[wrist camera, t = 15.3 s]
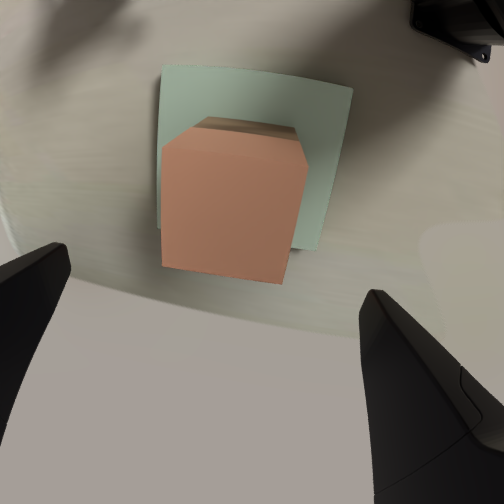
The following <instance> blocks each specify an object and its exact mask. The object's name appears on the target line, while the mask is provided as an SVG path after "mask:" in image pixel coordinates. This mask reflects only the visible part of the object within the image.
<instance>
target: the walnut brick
mask: <svg viewBox="0 0 504 504" xmlns="http://www.w3.org/2000/svg"><path fill="white" fill-rule="evenodd" d="M193 127H196V128H207V129H217V130H226V131H234V132H242V133H249V134H257V135H263V136H270V137H276V138H282V139H288V140H294V141H299V139H298V136H297V133H296V131H295V128H294V127H288V126H282V125H276V124H269V123H262V122H255V121H247V120H239V119H230V118H221V117H210V116H208V117H206V118H205V119H203V120H202V121H200V122H199V123H197V124H196V125H194V126H193Z"/></svg>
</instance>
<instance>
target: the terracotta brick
mask: <svg viewBox="0 0 504 504" xmlns="http://www.w3.org/2000/svg"><path fill="white" fill-rule="evenodd" d="M308 168H309V166H308V163H307V160H306V158H305V155H304V152H303V149H302V146H301V144H300V141H294V140H288V139H282V138H276V137H270V136H263V135H257V134H249V133H242V132H234V131H226V130H217V129H207V128H196V127H190V128H189V129H187V130H186V131H184V132H183V133H181V134H180V135H178V136H177V137H176V138H174V139H173V140H171V141H170V142H169V143H167V144H166V145H164V146H163V147H162V162H161V250H162V266H164V267H170V268H176V269H182V270H188V271H194V272H201V273H207V274H213V275H220V276H226V277H233V278H240V279H246V280H253V281H260V282H267V283H274V284H281V285H282V282H283V278H284V274H285V270H286V266H287V262H288V257H289V253H290V249H291V245H292V240H293V236H294V232H295V227H296V223H297V218H298V214H299V209H300V205H301V200H302V196H303V191H304V186H305V182H306V177H307V172H308Z"/></svg>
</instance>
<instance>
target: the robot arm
mask: <svg viewBox="0 0 504 504" xmlns="http://www.w3.org/2000/svg"><path fill="white" fill-rule="evenodd" d="M411 1H412V8H411V16H410V26H411V28H412V29H413V30H415V31H417V32H419V33H422V34H424V35H427V36H429V37H431V38H433V39H436V40H438V41H440V42H442V43H444V44H447V45H449V46H451V47H453V48H455V49H457V50H459V51H461V52H463V53H465V54H467V55H468V56H470V57H472V58H474V59H476V60H478V61H479V62H481V63H488V62H489V60H490V53H491V45H501V46H504V0H411ZM416 21H417V22H419V24H420V27H418V26H417V25H416ZM482 54H483V55H484V59H483V58H482ZM70 272H71V264H70V259H69V255H68V250H67V247H66V245H65V244H63V243H58V242H53V243H50V244H48V245H46V246H43V247H41V248H39V249H36V250H34V251H32V252H30V253H27V254H25V255H23V256H21V257H18V258H16V259H15V260H12V261H10V262H8V263H6V264H3V265H1V266H0V445H1V442H2V439H3V435H4V432H5V429H6V426H7V422H8V419H9V416H10V413H11V410H12V408H13V405H14V402H15V399H16V397H17V394H18V391H19V389H20V386H21V384H22V381H23V379H24V376H25V374H26V371H27V369H28V367H29V364H30V362H31V360H32V358H33V355H34V353H35V351H36V349H37V346H38V344H39V342H40V340H41V338H42V336H43V334H44V332H45V330H46V327H47V325H48V323H49V321H50V319H51V317H52V315H53V313H54V311H55V308H56V306H57V304H58V301H59V299H60V296H61V294H62V291H63V289H64V287H65V284H66V282H67V280H68V278H69V275H70ZM359 331H360V353H361V367H362V374H363V381H364V389H365V396H366V405H367V412H368V422H369V432H370V442H371V454H372V468H373V484H374V494H375V495H374V504H504V406H503V405H502V404H501V403H500V402H499V401H498V400H497V399H496V398H495V397H494V396H492V394H490V393H489V392H488V391H487V390H486V389H485V388H484V387H483V386H482V385H481V384H480V383H479V382H478V381H477V380H476V379H475V378H474V377H473V376H472V375H471V374H470V373H469V372H468V371H467V370H466V369H465V368H464V367H463V366H461V364H460V363H459V362H458V361H457V360H456V359H455V358H454V357H453V356H452V355H451V354H450V353H449V352H448V351H447V350H446V349H445V348H444V347H443V346H442V345H441V344H440V343H439V342H438V341H437V340H436V339H435V338H434V337H433V336H432V335H431V334H430V333H429V332H428V331H427V330H425V329H424V328H423V327H422V326H421V325H420V324H419V323H418V322H417V321H416V320H415V319H414V318H413V317H412V316H411V315H410V314H409V313H408V312H406V311H405V310H404V309H403V308H402V307H401V306H400V305H399V304H398V303H397V302H396V301H395V300H393V299H392V298H391V297H390V296H389V295H388V294H387V293H386V292H385V291H383V290H376V289H371V290H369V292H368V293H367V295H366V298H365V300H364V302H363V305H362V307H361V309H360V312H359Z"/></svg>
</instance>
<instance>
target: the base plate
mask: <svg viewBox="0 0 504 504" xmlns="http://www.w3.org/2000/svg"><path fill="white" fill-rule="evenodd" d="M352 95H353V88H349V87H345V86H341V85H337V84H332V83H328V82H323V81H318V80H313V79H308V78H303V77H297V76H292V75H286V74H279V73H272V72H265V71H257V70H249V69H239V68H228V67H215V66H197V65H162V75H161V87H160V101H159V117H158V140H157V229H161V162H162V147H163V146H164V145H166V144H167V143H169V142H170V141H171V140H173V139H174V138H176V137H177V136H178V135H180V134H181V133H183V132H184V131H186V130H187V129H189V128H190V127H193V126H194V125H196V124H197V123H199V122H200V121H202V120H203V119H205V118H206V117H208V116H210V117H221V118H230V119H239V120H247V121H255V122H262V123H269V124H276V125H282V126H288V127H294V128H295V131H296V133H297V136H298V139H299V141H300V144H301V146H302V149H303V152H304V155H305V158H306V160H307V163H308V166H309V168H308V172H307V177H306V182H305V186H304V191H303V196H302V200H301V205H300V209H299V214H298V218H297V223H296V227H295V232H294V236H293V240H292V245H291V248H297V249H304V250H311V251H316V249H317V245H318V241H319V238H320V234H321V230H322V226H323V223H324V219H325V215H326V211H327V207H328V203H329V199H330V195H331V191H332V187H333V183H334V179H335V174H336V170H337V166H338V161H339V157H340V153H341V148H342V143H343V139H344V134H345V130H346V125H347V120H348V115H349V110H350V105H351V100H352Z"/></svg>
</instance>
